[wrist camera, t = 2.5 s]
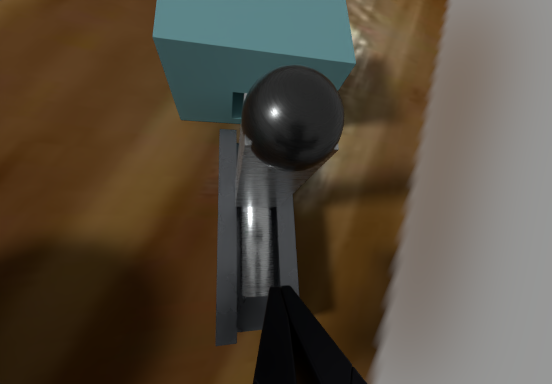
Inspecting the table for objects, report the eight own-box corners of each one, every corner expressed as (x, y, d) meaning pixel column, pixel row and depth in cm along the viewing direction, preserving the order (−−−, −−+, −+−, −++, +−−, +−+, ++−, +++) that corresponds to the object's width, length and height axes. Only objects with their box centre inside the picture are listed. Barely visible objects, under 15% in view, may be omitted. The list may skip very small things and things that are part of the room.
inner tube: (278, 289, 17) (413, 377, 5) (232, 293, 16) (249, 407, 4) (271, 138, 20) (340, -51, 8) (233, 135, 19) (243, -74, 7)
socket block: (312, 128, 22) (356, 63, 15) (180, 119, 20) (152, 37, 12) (306, 60, 25) (341, -27, 17) (185, 45, 22) (164, -65, 15)
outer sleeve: (289, 321, 18) (301, 335, 14) (217, 329, 16) (215, 345, 13) (279, 150, 21) (288, 133, 18) (220, 148, 20) (219, 128, 17)
